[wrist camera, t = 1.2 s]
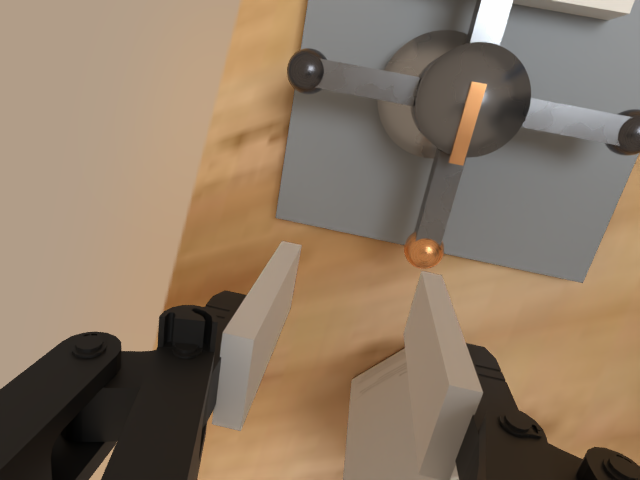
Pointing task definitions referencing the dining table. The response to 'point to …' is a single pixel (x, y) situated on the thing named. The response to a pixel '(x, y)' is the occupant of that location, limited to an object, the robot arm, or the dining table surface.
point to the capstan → (457, 109)
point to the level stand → (479, 172)
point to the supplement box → (382, 425)
